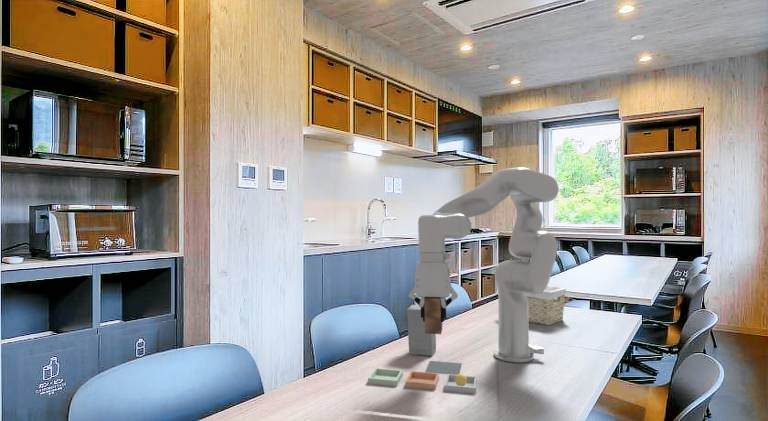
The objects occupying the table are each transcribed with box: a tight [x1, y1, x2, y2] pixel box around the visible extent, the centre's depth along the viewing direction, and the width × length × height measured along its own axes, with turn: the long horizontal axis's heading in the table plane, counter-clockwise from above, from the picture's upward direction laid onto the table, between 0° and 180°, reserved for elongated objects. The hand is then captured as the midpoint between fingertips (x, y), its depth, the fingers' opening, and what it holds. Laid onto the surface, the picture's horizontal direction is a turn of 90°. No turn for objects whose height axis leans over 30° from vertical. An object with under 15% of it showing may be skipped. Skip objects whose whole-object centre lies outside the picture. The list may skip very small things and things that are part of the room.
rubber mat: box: [424, 360, 463, 375], centre depth 135 cm, size 10×10×1 cm
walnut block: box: [424, 297, 443, 335], centre depth 129 cm, size 4×4×10 cm
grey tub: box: [443, 374, 478, 395], centre depth 121 cm, size 8×8×2 cm
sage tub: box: [367, 367, 404, 387], centre depth 126 cm, size 8×8×2 cm
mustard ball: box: [455, 373, 467, 386], centre depth 121 cm, size 3×3×3 cm
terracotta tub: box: [404, 370, 440, 390], centre depth 123 cm, size 8×8×2 cm
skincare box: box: [406, 304, 437, 357], centre depth 151 cm, size 8×7×16 cm
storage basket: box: [525, 284, 567, 326], centre depth 197 cm, size 24×16×15 cm
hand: (433, 319), depth 129 cm, fingers closed on walnut block, 4 cm apart
